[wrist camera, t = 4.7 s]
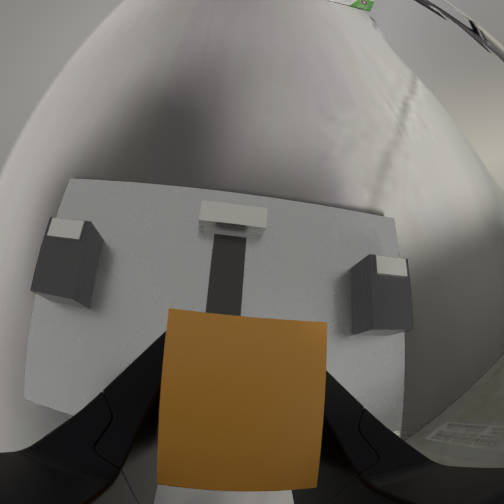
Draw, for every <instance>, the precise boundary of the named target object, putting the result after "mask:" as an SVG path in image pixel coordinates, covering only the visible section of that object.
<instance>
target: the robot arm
mask: <svg viewBox="0 0 504 504" xmlns="http://www.w3.org/2000/svg"><path fill="white" fill-rule="evenodd" d="M165 337H166V331H165V332H164V333H163V334H162V335H161V336H160V337H159V338H157V339H156V340H155V341H154V342H153V343H152V344H151V345H150V346H149V347H148V348H147V349H146V350H145V351H144V352H143V353H142V354H141V355H139V356H138V357H137V358H136V359H135V360H134V361H133V362H132V363H131V364H130V365H129V366H128V367H127V368H126V369H125V370H124V371H123V372H122V373H120V374H119V375H118V376H117V377H116V378H115V379H114V380H113V381H112V382H111V383H110V384H109V385H108V386H107V387H106V388H105V389H104V390H103V392H100V393H99V394H98V395H97V396H96V397H95V398H94V399H93V400H92V401H91V402H89V403H88V404H87V405H86V406H85V407H84V408H83V409H82V410H80V411H79V412H78V413H76V414H75V415H74V416H73V417H71V418H70V419H69V420H67V421H66V422H65V423H63V424H62V425H60V426H59V427H58V428H56V429H55V430H53V431H52V432H51V433H49V434H48V435H46V436H45V437H43V438H42V439H41V440H39V441H38V442H36V443H35V444H33V445H31V446H29V447H27V448H25V449H23V450H19V451H15V452H4V453H0V504H153V503H154V498H155V493H156V489H157V450H158V425H159V407H160V392H161V379H162V367H163V357H164V346H165ZM292 494H293V500H294V504H504V468H479V467H458V466H447V465H442V464H439V463H436V462H434V461H432V460H431V459H429V458H427V457H426V456H425V455H423V454H422V453H420V452H419V451H418V450H416V449H415V448H414V447H412V446H411V445H409V444H408V443H407V442H405V441H404V440H403V439H401V438H400V437H399V436H397V435H396V434H395V433H394V432H392V431H391V430H390V429H388V428H387V427H386V426H385V425H384V424H383V423H381V422H380V421H379V420H378V419H377V418H376V417H375V416H374V415H372V414H371V413H370V412H369V411H368V410H367V409H366V408H364V406H363V405H362V404H361V403H360V402H359V401H358V400H357V399H356V398H355V397H353V396H352V395H351V394H350V393H349V392H348V391H347V390H346V389H345V388H344V387H343V386H342V385H341V384H340V383H339V382H338V381H337V380H336V379H335V378H334V377H333V376H332V375H331V374H330V373H329V372H328V371H327V370H326V383H325V401H324V416H323V430H322V441H321V452H320V462H319V471H318V479H317V488H307V489H296V490H292Z"/></svg>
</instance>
